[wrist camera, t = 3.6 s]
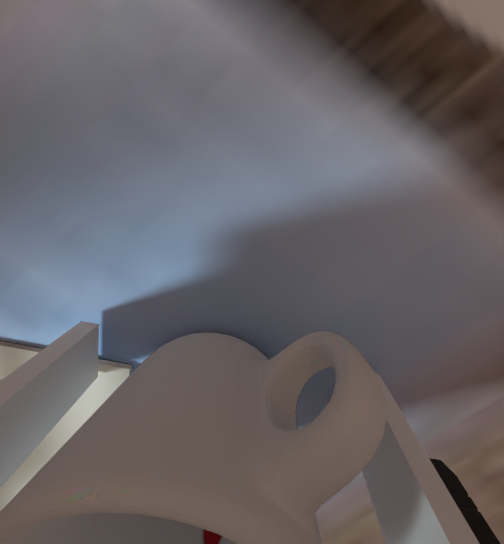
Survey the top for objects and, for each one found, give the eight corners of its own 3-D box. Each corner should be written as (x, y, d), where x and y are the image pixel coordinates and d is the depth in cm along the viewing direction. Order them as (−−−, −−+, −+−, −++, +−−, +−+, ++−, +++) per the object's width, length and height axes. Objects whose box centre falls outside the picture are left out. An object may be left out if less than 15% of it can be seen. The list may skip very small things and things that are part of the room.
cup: (267, 224, 11) (263, 306, 4) (387, 360, 13) (563, 621, 5) (97, 376, 14) (-111, 610, 6) (213, 476, 15) (158, 765, 8)
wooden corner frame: (-105, 531, 18) (-205, 624, 14) (-195, 207, 12) (-404, 217, 8) (263, 600, 18) (261, 713, 14) (350, 306, 12) (388, 362, 8)
